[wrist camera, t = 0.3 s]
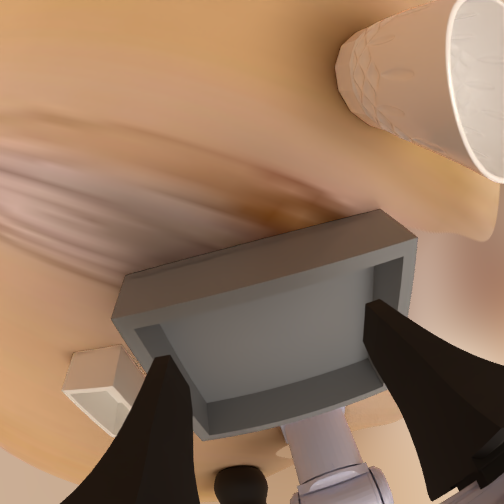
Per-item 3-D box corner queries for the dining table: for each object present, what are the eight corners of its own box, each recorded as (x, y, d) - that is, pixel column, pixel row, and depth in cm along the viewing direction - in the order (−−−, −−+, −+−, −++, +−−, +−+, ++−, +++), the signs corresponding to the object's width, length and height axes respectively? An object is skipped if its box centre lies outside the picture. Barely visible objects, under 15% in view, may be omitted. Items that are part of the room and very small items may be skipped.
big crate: (372, 355, 27) (390, 387, 23) (199, 403, 27) (202, 441, 23) (380, 209, 19) (417, 237, 15) (125, 275, 19) (110, 319, 15)
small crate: (160, 396, 26) (159, 434, 22) (117, 401, 26) (112, 437, 22) (121, 342, 22) (113, 386, 18) (74, 351, 22) (61, 390, 18)
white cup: (301, 91, 15) (412, 91, 6) (358, -1, 12) (474, -43, 3) (395, 158, 18) (509, 217, 9) (440, 74, 15) (556, 91, 6)
